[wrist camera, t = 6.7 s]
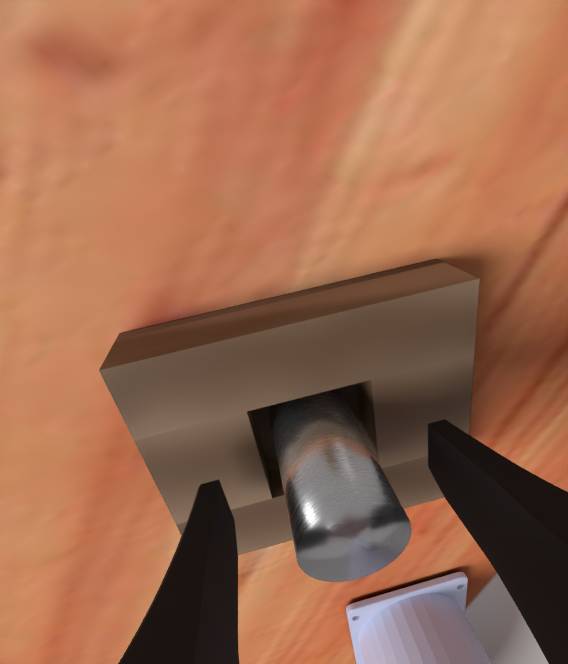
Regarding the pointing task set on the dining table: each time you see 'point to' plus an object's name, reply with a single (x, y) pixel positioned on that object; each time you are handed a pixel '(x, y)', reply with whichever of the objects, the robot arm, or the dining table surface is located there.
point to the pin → (335, 490)
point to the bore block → (298, 386)
